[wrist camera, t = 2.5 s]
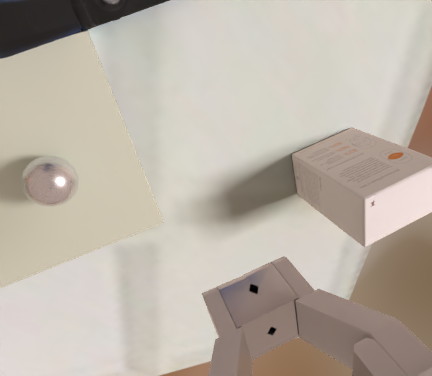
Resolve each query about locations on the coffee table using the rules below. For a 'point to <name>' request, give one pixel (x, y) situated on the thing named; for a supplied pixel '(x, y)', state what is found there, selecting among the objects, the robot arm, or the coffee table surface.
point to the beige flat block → (69, 150)
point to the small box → (364, 183)
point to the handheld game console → (57, 19)
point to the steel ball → (49, 181)
